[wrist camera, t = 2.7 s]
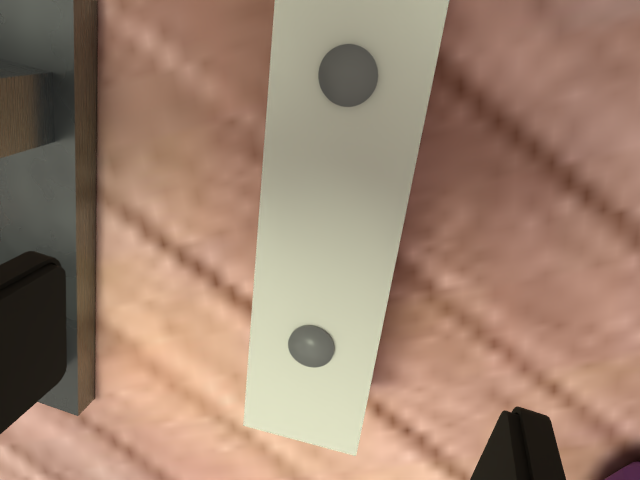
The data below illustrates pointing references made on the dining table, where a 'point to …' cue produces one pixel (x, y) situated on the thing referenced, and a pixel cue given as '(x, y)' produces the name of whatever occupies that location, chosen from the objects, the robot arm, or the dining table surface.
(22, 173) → the rack
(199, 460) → the dining table surface
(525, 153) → the dining table surface
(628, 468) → the purple maraca
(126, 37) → the dining table surface
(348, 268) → the cream rectangular bar
